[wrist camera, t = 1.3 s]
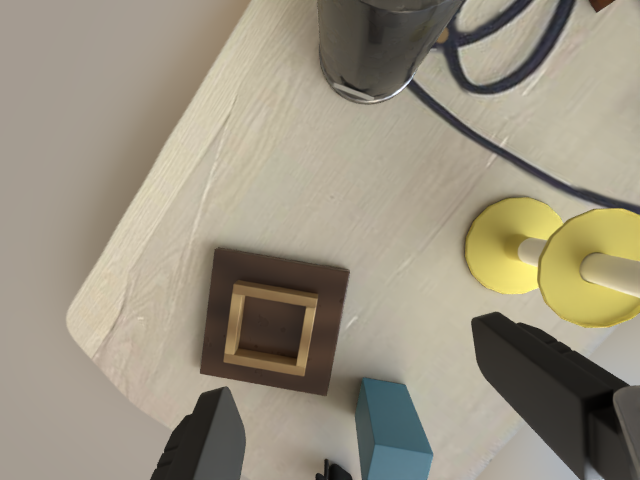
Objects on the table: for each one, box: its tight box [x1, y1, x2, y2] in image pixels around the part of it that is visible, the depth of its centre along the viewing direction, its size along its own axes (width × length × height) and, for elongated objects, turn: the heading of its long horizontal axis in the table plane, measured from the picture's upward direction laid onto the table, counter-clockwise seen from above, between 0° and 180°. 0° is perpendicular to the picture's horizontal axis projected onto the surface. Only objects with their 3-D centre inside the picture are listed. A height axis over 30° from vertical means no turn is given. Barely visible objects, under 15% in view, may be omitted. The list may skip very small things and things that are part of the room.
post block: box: [355, 377, 433, 480], centre depth 28 cm, size 5×5×9 cm
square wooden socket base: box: [200, 247, 350, 396], centre depth 31 cm, size 14×14×2 cm
